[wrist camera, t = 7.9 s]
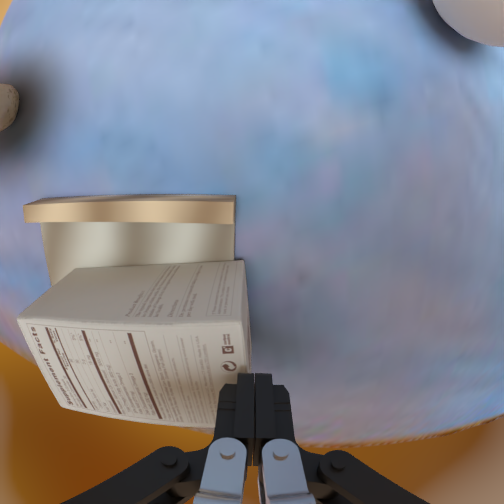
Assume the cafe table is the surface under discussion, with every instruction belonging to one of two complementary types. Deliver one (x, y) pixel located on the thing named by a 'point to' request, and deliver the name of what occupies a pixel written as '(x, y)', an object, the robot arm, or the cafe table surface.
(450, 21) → the sauce bottle
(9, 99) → the mushroom
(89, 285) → the supplement box
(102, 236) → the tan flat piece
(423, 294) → the cafe table surface
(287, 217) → the cafe table surface
